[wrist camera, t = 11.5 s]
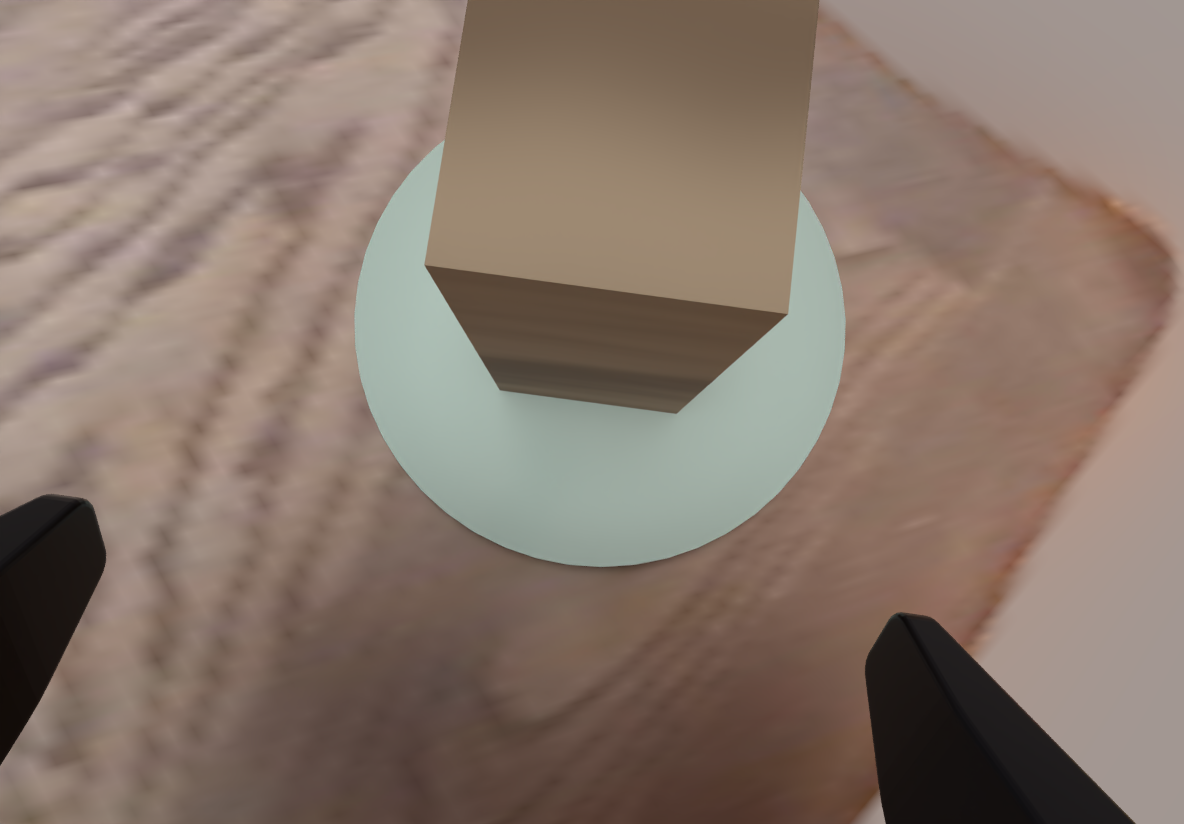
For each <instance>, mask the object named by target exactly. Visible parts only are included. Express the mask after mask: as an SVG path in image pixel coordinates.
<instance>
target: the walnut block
mask: <svg viewBox="0 0 1184 824" xmlns="http://www.w3.org/2000/svg"><path fill="white" fill-rule="evenodd" d="M818 8H819V0H468V3H467V9H466V15H465V21H464V27H463V33H462V39H461V45H460V51H459V57H458V63H457V69H456V75H455V82H454V88H453V94H452V100H451V106H450V112H449V118H448V124H447V130H446V136H445V142H444V148H443V154H442V160H441V166H440V172H439V179H438V185H437V191H436V197H435V203H434V209H433V215H432V221H431V227H430V233H429V239H428V245H427V251H426V257H425V263H424V265H425V267H426V269H427V270H428V272H429V274H430V275H431V277H432V279H433V280H434V282H435V284H436V285H437V287H438V289H439V290H440V292H441V294H442V295H443V297H444V299H445V300H446V302H447V304H448V305H449V307H450V309H451V310H452V312H453V314H454V315H455V317H456V319H457V320H458V322H459V324H460V325H461V327H462V328H463V330H464V332H465V333H466V335H467V337H468V338H469V340H470V342H471V343H472V345H473V347H474V348H475V350H476V352H477V353H478V355H479V357H480V358H481V360H482V362H483V363H484V365H485V367H486V368H487V370H488V372H489V373H490V375H491V377H492V378H493V380H494V382H495V383H496V385H497V387H498V388H499V390H501V391H508V392H516V393H523V394H531V395H538V396H546V397H553V398H561V399H568V400H576V401H583V402H591V403H598V404H606V405H613V406H621V407H628V408H636V409H643V410H651V411H658V412H666V413H673V414H677V413H678V412H679V411H680V410H681V409H682V408H684V407H685V406H686V405H687V404H688V403H689V402H690V401H691V400H692V399H694V398H695V397H696V396H697V395H698V394H699V393H700V392H701V391H703V390H704V389H705V388H706V387H707V386H708V385H709V384H710V383H712V382H713V381H714V380H715V379H716V378H717V377H718V376H719V375H721V374H722V373H723V372H724V371H725V370H726V369H727V368H728V367H729V366H731V365H732V364H733V363H734V362H735V361H736V360H737V359H738V358H740V357H741V356H742V355H743V354H744V353H745V352H746V351H747V350H749V349H750V348H751V347H752V346H753V345H754V344H755V343H756V342H757V341H759V340H760V339H761V338H762V337H763V336H764V335H765V334H766V333H768V332H769V331H770V330H771V329H772V328H773V327H774V326H775V325H777V324H778V323H779V322H780V321H781V320H782V319H783V318H784V317H785V316H787V315H788V311H789V301H790V291H791V281H792V270H793V260H794V250H795V240H796V230H797V220H798V210H799V200H800V190H801V180H802V170H803V160H804V149H805V139H806V129H807V119H808V109H809V99H810V89H811V79H812V69H813V59H814V49H815V39H816V28H817V18H818Z"/></svg>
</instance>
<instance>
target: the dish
mask: <svg viewBox="0 0 1184 824" xmlns="http://www.w3.org/2000/svg"><path fill="white" fill-rule="evenodd" d="M444 142H445V140H444V141H443V142H442V143H440V144H439V145H438V146H436V147H435V148H434V149H433V150H432V151H431V152H430V153H429V154H428V155H427V156H426V157H425V158H424V159H423V160H422V161H421V162H420V163H419V164H418V165H417V166H416V167H415V168H414V169H413V170H412V171H411V172H410V174H409V175H408V176H407V178H406V179H405V180H404V182H403V183H402V184H401V186H400V187H399V188H398V190H397V191H396V192H395V194H394V195H393V196H392V198H391V200H390V202H389V204H388V205H387V207H386V209H385V211H384V212H383V214H382V216H381V218H380V220H379V221H378V223H377V225H376V228H375V230H374V233H373V235H372V238H371V240H370V243H369V245H368V248H367V250H366V253H365V257H364V261H363V265H362V269H361V273H360V277H359V281H358V288H357V297H356V306H355V348H356V354H357V360H358V366H359V373H360V378H361V382H362V385H363V388H364V391H365V395H366V398H367V401H368V405H369V408H370V410H371V412H372V415H373V417H374V419H375V421H376V423H377V426H378V428H379V430H380V432H381V434H382V437H383V438H384V440H385V442H386V443H387V445H388V446H389V448H390V450H391V451H392V453H393V454H394V456H395V457H396V459H397V461H398V462H399V464H400V465H401V467H402V468H403V469H404V470H405V471H406V472H407V474H408V475H409V476H410V477H411V478H412V480H413V481H414V482H415V483H416V484H417V486H418V487H419V488H420V489H421V490H422V491H423V492H424V493H425V494H426V495H427V496H428V497H429V498H430V499H432V500H433V501H434V502H435V503H436V504H437V505H438V506H439V507H440V508H441V509H443V510H444V511H445V512H446V513H447V514H449V515H450V516H452V517H453V518H454V519H456V520H457V521H459V522H460V523H462V524H463V525H465V526H466V527H468V528H469V529H470V530H472V531H473V532H475V533H477V534H479V535H481V536H483V537H485V538H487V539H489V540H491V541H493V542H495V543H497V544H499V545H501V546H503V547H505V548H508V549H511V550H514V551H517V552H520V553H523V554H525V555H528V556H531V557H534V558H538V559H543V560H548V561H553V562H558V563H562V564H567V565H580V566H595V567H608V566H624V565H636V564H641V563H646V562H651V561H656V560H661V559H666V558H670V557H673V556H675V555H678V554H681V553H684V552H687V551H690V550H693V549H696V548H699V547H701V546H703V545H705V544H707V543H709V542H711V541H713V540H715V539H717V538H719V537H721V536H723V535H725V534H727V533H728V532H730V531H731V530H733V529H734V528H736V527H737V526H739V525H740V524H742V523H743V522H744V521H746V520H747V519H749V518H750V517H752V516H753V515H755V514H756V513H757V512H758V511H759V510H760V509H761V508H763V507H764V506H765V505H766V504H767V503H768V502H769V501H770V500H771V499H773V498H774V497H775V496H776V495H777V494H778V493H779V492H780V491H781V490H782V489H783V487H784V486H785V485H786V484H787V483H788V481H789V480H790V479H791V478H792V477H793V475H794V474H795V473H796V472H797V471H798V470H799V468H800V467H801V465H802V464H803V462H804V461H805V459H806V458H807V456H808V454H809V453H810V451H811V450H812V448H813V446H814V445H815V443H816V442H817V440H818V438H819V436H820V433H821V431H822V429H823V427H824V425H825V423H826V420H827V418H828V416H829V414H830V411H831V408H832V405H833V402H834V398H835V395H836V392H837V388H838V385H839V382H840V376H841V370H842V363H843V357H844V351H845V311H844V301H843V292H842V286H841V282H840V278H839V274H838V269H837V265H836V261H835V258H834V255H833V252H832V250H831V247H830V245H829V242H828V239H827V237H826V234H825V232H824V229H823V227H822V225H821V224H820V222H819V220H818V218H817V216H816V214H815V213H814V211H813V209H812V207H811V205H810V203H809V202H808V200H807V199H806V198H805V196H804V195H803V193H802V192H801V191H800V200H799V210H798V220H797V230H796V240H795V250H794V260H793V270H792V281H791V291H790V301H789V311H788V315H787V316H785V317H784V318H783V319H782V320H781V321H780V322H779V323H778V324H777V325H775V326H774V327H773V328H772V329H771V330H770V331H769V332H768V333H766V334H765V335H764V336H763V337H762V338H761V339H760V340H759V341H757V342H756V343H755V344H754V345H753V346H752V347H751V348H750V349H749V350H747V351H746V352H745V353H744V354H743V355H742V356H741V357H740V358H738V359H737V360H736V361H735V362H734V363H733V364H732V365H731V366H729V367H728V368H727V369H726V370H725V371H724V372H723V373H722V374H721V375H719V376H718V377H717V378H716V379H715V380H714V381H713V382H712V383H710V384H709V385H708V386H707V387H706V388H705V389H704V390H703V391H701V392H700V393H699V394H698V395H697V396H696V397H695V398H694V399H692V400H691V401H690V402H689V403H688V404H687V405H686V406H685V407H684V408H682V409H681V410H680V411H679V412H678V413H677V414H673V413H666V412H658V411H651V410H643V409H636V408H628V407H621V406H613V405H606V404H598V403H591V402H583V401H576V400H568V399H561V398H553V397H546V396H538V395H531V394H523V393H516V392H508V391H501V390H499V388H498V387H497V385H496V383H495V382H494V380H493V378H492V377H491V375H490V373H489V372H488V370H487V368H486V367H485V365H484V363H483V362H482V360H481V358H480V357H479V355H478V353H477V352H476V350H475V348H474V347H473V345H472V343H471V342H470V340H469V338H468V337H467V335H466V333H465V332H464V330H463V328H462V327H461V325H460V324H459V322H458V320H457V319H456V317H455V315H454V314H453V312H452V310H451V309H450V307H449V305H448V304H447V302H446V300H445V299H444V297H443V295H442V294H441V292H440V290H439V289H438V287H437V285H436V284H435V282H434V280H433V279H432V277H431V275H430V274H429V272H428V270H427V269H426V267H425V265H424V263H425V257H426V251H427V245H428V239H429V233H430V227H431V221H432V215H433V209H434V203H435V197H436V191H437V185H438V179H439V172H440V166H441V160H442V154H443V148H444Z"/></svg>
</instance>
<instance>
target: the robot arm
mask: <svg viewBox="0 0 1184 824" xmlns="http://www.w3.org/2000/svg"><path fill="white" fill-rule="evenodd" d="M105 563H106V549H105V546H104V542H103V539H102V535H101V532H100V528H99V525H98V521H97V518H96V514H95V511H94V508H93V505H92V504H91V503H90V502H89V501H88V500H86V499H83V498H78V497H71V496H64V495H56V494H46V495H43V496H40V497H38V498H35V499H33V500H31V501H29V502H27V503H25V504H23V505H21V506H19V507H17V508H15V509H13V510H11V511H9V512H7V513H5V514H3V515H1V516H0V765H1V764H2V762H3V760H4V759H5V757H6V756H7V754H8V752H9V751H10V749H11V748H12V746H13V744H14V743H15V741H16V740H17V738H18V736H19V735H20V733H21V732H22V730H23V728H24V727H25V725H26V724H27V722H28V720H29V718H30V717H31V715H32V713H33V712H34V710H35V708H36V707H37V705H38V703H39V701H40V700H41V698H42V696H43V694H44V692H45V690H46V688H47V686H48V684H49V682H50V680H51V678H52V676H53V674H54V672H55V670H56V668H57V666H58V664H59V662H60V660H61V658H62V656H63V654H64V652H65V650H66V648H67V646H68V643H69V641H70V639H71V637H72V635H73V633H74V631H75V629H76V627H77V625H78V623H79V621H80V619H81V617H82V615H83V613H84V611H85V609H86V607H87V604H88V602H89V600H90V598H91V596H92V594H93V592H94V590H95V588H96V586H97V584H98V582H99V580H100V578H101V576H102V573H103V571H104V567H105ZM865 678H866V686H867V694H868V702H869V711H870V719H871V727H872V735H873V743H874V751H875V759H876V767H877V775H878V783H879V789H880V796H881V803H882V808H883V812H884V817H885V822H886V824H1135V822H1133V820H1132V819H1131V818H1130V817H1129V816H1128V815H1127V814H1126V813H1125V812H1124V811H1123V810H1122V809H1121V808H1120V807H1119V806H1118V805H1117V804H1116V803H1115V802H1114V801H1113V800H1112V799H1111V798H1110V797H1109V796H1108V795H1107V794H1106V793H1105V792H1104V791H1103V790H1102V789H1101V788H1100V787H1099V786H1098V785H1097V784H1096V783H1095V782H1094V781H1093V780H1092V779H1091V778H1090V777H1089V776H1088V775H1087V774H1086V773H1085V772H1084V771H1083V770H1082V769H1081V768H1080V767H1079V766H1078V764H1076V762H1075V761H1074V760H1073V759H1072V758H1071V757H1070V756H1069V755H1068V754H1067V753H1066V752H1065V751H1064V750H1063V749H1061V747H1060V746H1059V745H1058V744H1057V743H1056V742H1055V741H1054V740H1053V739H1051V737H1050V736H1049V735H1048V734H1047V733H1046V732H1045V731H1044V730H1043V729H1042V728H1041V727H1040V726H1039V725H1038V724H1037V723H1036V722H1035V721H1034V720H1033V719H1032V718H1031V717H1030V716H1029V715H1028V714H1027V713H1026V712H1025V711H1024V710H1023V709H1022V708H1021V707H1020V706H1019V705H1018V703H1016V702H1015V701H1014V699H1013V698H1012V697H1010V695H1008V693H1007V692H1006V691H1005V690H1004V689H1003V688H1001V686H1000V685H999V684H998V683H997V682H996V681H995V680H994V679H993V678H992V677H991V676H990V675H989V674H988V673H987V672H986V671H985V670H984V669H983V668H982V667H981V666H980V665H979V664H978V663H977V662H976V661H975V660H974V659H973V658H972V657H971V656H970V655H969V654H968V653H967V652H966V651H965V650H964V649H963V648H962V647H961V646H960V645H959V644H958V642H957V641H956V640H955V639H954V638H953V637H952V636H951V635H950V634H949V633H948V632H947V631H946V630H945V629H944V628H943V627H942V626H941V625H940V624H939V623H938V622H937V621H935V620H934V619H932V618H931V617H928V616H924V615H917V614H910V613H902V612H900V613H896V614H894V615H893V616H891V618H890V619H889V620H888V622H887V624H886V625H885V627H884V629H883V630H882V632H881V634H880V635H879V637H878V639H877V640H876V642H875V644H874V645H873V647H872V649H871V650H870V652H869V654H868V656H867V660H866V665H865Z"/></svg>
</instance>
